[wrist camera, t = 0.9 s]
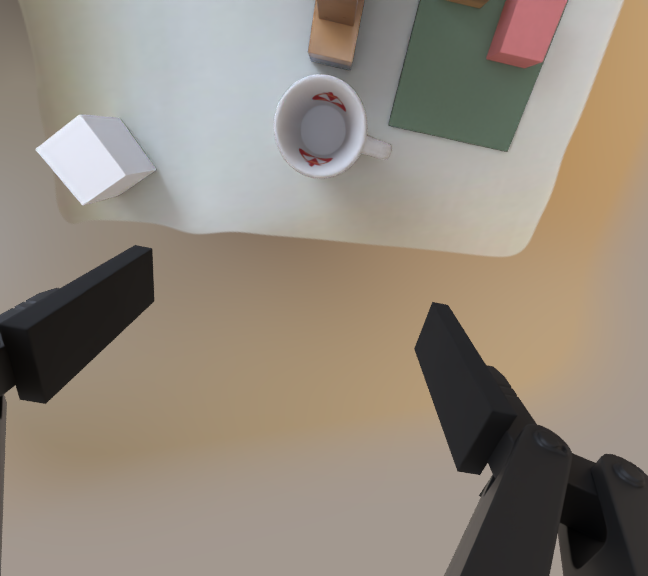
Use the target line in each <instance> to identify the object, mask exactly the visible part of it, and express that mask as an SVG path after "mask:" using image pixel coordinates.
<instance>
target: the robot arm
mask: <svg viewBox="0 0 648 576" xmlns="http://www.w3.org/2000/svg"><path fill="white" fill-rule="evenodd" d="M153 302H154V281H153V257H152V248H147V247H142V246H137V245H135V246H133V247H131V248H129V249H127V250H126V251H124V252H123V253H121V254H119V255H117V256H115V257H114V258H112V259H110V260H108V261H107V262H105V263H103V264H101V265H100V266H98V267H97V268H95V269H93V270H91V271H89V272H88V273H86V274H84V275H82V276H81V277H79V278H77V279H76V280H74V281H72V282H70V283H69V284H67V285H65V286H63V287H62V288H55V289H51V290H48V291H45V292H42V293H39V294H37V295H35V296H33V297H31V298H30V299H28V300H26V302H22V303H21V304H19V305H17V306H15V308H14V309H13V308H12V309H10V310H8V311H6V312H4V313H2V314H1V315H0V575H1V549H2V519H3V491H4V464H5V462H4V461H5V435H6V432H5V431H6V406H7V402H6V399H5V396H4V394H5V393H6V392H7V391H8V390H10V389H11V388H12V387H14V386H15V385H16V388H17V391H18V395H19V398H20V400H26V401H32V402H39V403H45V404H46V403H47V402H48V401H49V400H50V399H51V398H52V397H53V396H54V395H55V394H57V393H58V392H59V391H60V390H61V389H62V388H63V387H64V386H65V385H66V384H67V383H68V382H69V381H70V380H71V379H72V378H73V377H74V376H76V375H77V374H78V373H79V372H80V371H81V370H82V369H83V368H84V367H85V366H86V365H87V364H88V363H89V362H90V361H91V360H93V358H95V357H96V356H97V355H98V354H99V353H100V352H101V351H102V350H103V349H104V348H105V347H106V346H107V345H108V344H109V343H111V342H112V341H113V340H114V339H115V338H116V337H117V336H118V335H119V334H120V333H121V332H122V331H123V330H124V329H125V328H126V327H127V326H129V324H131V323H132V322H133V321H134V320H135V319H136V318H137V317H138V316H139V315H140V314H141V313H142V312H143V311H144V310H145V309H146V308H148V307H149V306H150V305H151V304H152V303H153ZM415 352H416V354H417V357H418V360H419V363H420V366H421V369H422V372H423V374H424V377H425V380H426V383H427V386H428V389H429V392H430V395H431V397H432V400H433V403H434V406H435V409H436V411H437V414H438V417H439V420H440V423H441V426H442V429H443V431H444V434H445V437H446V440H447V442H448V445H449V448H450V451H451V454H452V457H453V460H454V462H455V465H456V468H457V471H459V472H465V473H471V474H478V475H480V474H481V473H482V471H483V469H484V468H485V466H486V464H487V463H488V464H489V466H490V468H491V471H492V473H493V475H492V477H491V478H490V480H489V481H488V483H487V484H486V486H485V487H484V489H483V490H482V492H481V493H480V495H479V496H480V497H481V498H480V500H479V502H478V505H477V507H476V509H475V511H474V513H473V515H472V517H471V519H470V522H469V524H468V526H467V528H466V530H465V532H464V534H463V536H462V539H461V541H460V543H459V545H458V547H457V549H456V552H455V554H454V556H453V558H452V560H451V562H450V564H449V567H448V568H447V571H446V573H445V575H444V576H549V574H550V569H551V564H552V559H553V554H554V549H555V544H556V539H557V534H558V538H559V545H560V552H561V561H562V568H563V576H648V476H647V475H646V474H645V473H644V472H643V471H642V470H641V469H640V468H639V467H637V466H636V465H634V464H633V463H631V462H629V461H627V460H625V459H623V458H621V457H619V456H616V455H613V454H604V455H603V456H601V458H600V459H599V460H598V461H597V463H594V462H592V461H589V460H587V459H584V458H582V457H580V456H577V455H575V454H573V453H572V452H571V450H570V448H569V447H568V445H567V444H566V443H565V442H564V441H563V440H562V439H561V438H560V437H559V436H558V435H557V434H555V433H554V432H552V431H551V430H549V429H547V428H545V427H543V426H540V425H537V424H536V423H535V421H534V419H533V418H532V417H531V415H530V414H529V412H528V411H527V409H526V408H525V406H524V405H523V403H522V402H521V400H520V399H519V397H517V395H516V393H515V391H514V390H513V389H511V385H510V384H509V383H508V381H507V380H506V378H505V377H504V376H503V375H502V374H501V373H500V372H499V371H498V370H497V369H495V368H494V367H492V366H487V365H486V364H485V363H484V361H483V360H482V358H481V356H480V355H479V353H478V352H477V350H476V349H475V347H474V345H473V344H472V342H471V341H470V339H469V337H468V336H467V334H466V333H465V331H464V329H463V328H462V327H461V325H460V323H459V322H458V320H457V318H456V317H455V315H454V314H453V312H452V310H451V309H450V307H449V306H448V305H444V304H440V303H435V302H432V305H431V307H430V310H429V312H428V315H427V318H426V320H425V323H424V325H423V328H422V331H421V333H420V335H419V338H418V341H417V343H416V346H415Z"/></svg>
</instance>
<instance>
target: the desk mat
mask: <svg viewBox="0 0 648 576" xmlns="http://www.w3.org/2000/svg"><path fill="white" fill-rule="evenodd" d="M505 1H506V0H489V1H488V2H487V3H486V4H485V5H483V6H482V7H481V8H480V9H479V8H475V7H471V6H467V5H463V4H459V3H455V2H451V1H446V0H420V2H419V6H418V10H417V14H416V18H415V22H414V26H413V29H412V33H411V37H410V41H409V45H408V49H407V53H406V57H405V61H404V65H403V69H402V73H401V77H400V81H399V85H398V89H397V93H396V97H395V101H394V105H393V109H392V113H391V117H390V121H389V126H393V127H398V128H402V129H407V130H411V131H416V132H420V133H425V134H429V135H434V136H438V137H443V138H447V139H452V140H456V141H461V142H465V143H470V144H474V145H479V146H483V147H488V148H492V149H497V150H501V151H506V152H507V151H508V149H509V147H510V144H511V142H512V139H513V137H514V134H515V132H516V129H517V127H518V124H519V122H520V119H521V117H522V114H523V112H524V109H525V107H526V104H527V102H528V99H529V97H530V94H531V92H532V89H533V87H534V85H535V82H536V80H537V77H538V75H539V72H540V70H541V67H542V65H543V62H544V60H545V57H546V55H547V52H548V50H549V47H550V45H551V42H552V40H553V37H554V35H555V32H556V30H557V27H558V25H559V22H560V20H561V17H562V15H563V12H564V10H565V7H566V5H567V3H568V0H567V2H566V5H565V7H564V10H563V12H562V15H561V17H560V20H559V22H558V25H557V27H556V30H555V32H554V35H553V37H552V40H551V42H550V45H549V47H548V50H547V52H546V55H545V57H544V60H543V62H541V63H539V64H536V65H533V66H530V67H527V68H521V67H517V66H512V65H508V64H504V63H500V62H495V61H491V60H487V59H486V57H487V54H488V51H489V48H490V46H491V43H492V40H493V37H494V34H495V31H496V28H497V25H498V22H499V19H500V16H501V13H502V10H503V7H504V4H505Z"/></svg>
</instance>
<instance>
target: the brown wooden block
mask: <svg viewBox="0 0 648 576" xmlns="http://www.w3.org/2000/svg"><path fill="white" fill-rule="evenodd" d="M363 5H364V0H316V1H315V8H314V15H313V22H312V28H311V35H310V42H309V49H308V53H309V56H310V59H311V61H312V62H317V63H321V64H325V65H330V66H334V67H338V68H343V69H347V70H351V66H352V62H353V56H354V51H355V46H356V41H357V36H358V31H359V26H360V21H361V16H362V10H363Z"/></svg>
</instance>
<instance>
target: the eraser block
mask: <svg viewBox="0 0 648 576" xmlns="http://www.w3.org/2000/svg"><path fill="white" fill-rule="evenodd" d="M566 2H567V0H506V1H505V4H504V7H503V10H502V13H501V16H500V19H499V22H498V25H497V28H496V31H495V34H494V37H493V40H492V43H491V46H490V48H489V51H488V54H487V57H486V59H487V60H491V61H495V62H500V63H504V64H508V65H512V66H517V67H521V68H527V67H530V66H533V65H536V64H539V63H541V62H543V60H544V57H545V55H546V52H547V50H548V47H549V45H550V42H551V40H552V37H553V35H554V32H555V30H556V27H557V25H558V22H559V20H560V17H561V15H562V12H563V10H564V7H565V5H566Z"/></svg>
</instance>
